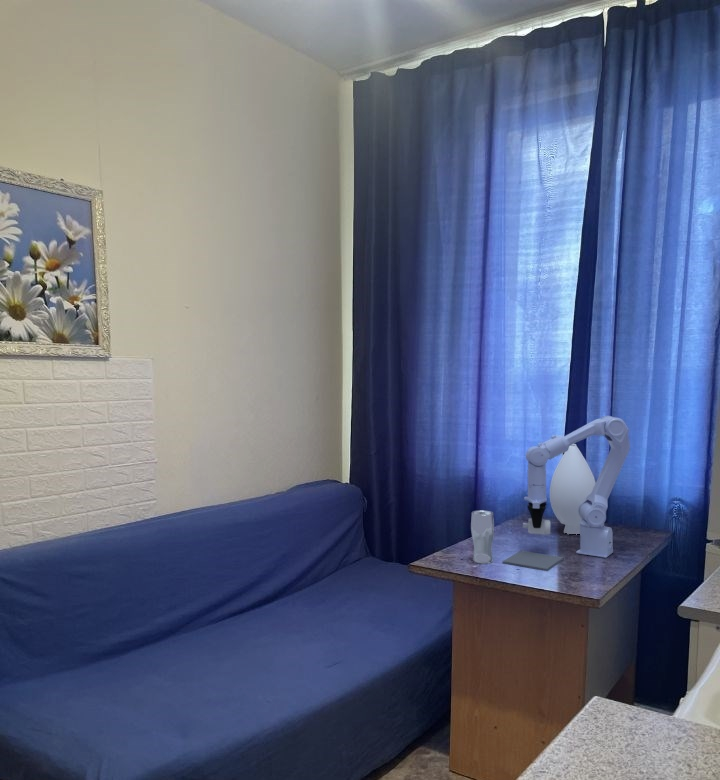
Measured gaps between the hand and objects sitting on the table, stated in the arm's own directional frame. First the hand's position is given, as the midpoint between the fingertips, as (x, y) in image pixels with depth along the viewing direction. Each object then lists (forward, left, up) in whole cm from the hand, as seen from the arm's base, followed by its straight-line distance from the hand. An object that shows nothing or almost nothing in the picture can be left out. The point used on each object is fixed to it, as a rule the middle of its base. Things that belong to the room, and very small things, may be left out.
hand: (537, 526), depth 206 cm
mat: (-3, +10, -8) cm, 13 cm away
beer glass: (+10, +18, -9) cm, 22 cm away
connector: (0, 0, -2) cm, 2 cm away
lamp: (-1, -31, -9) cm, 32 cm away
